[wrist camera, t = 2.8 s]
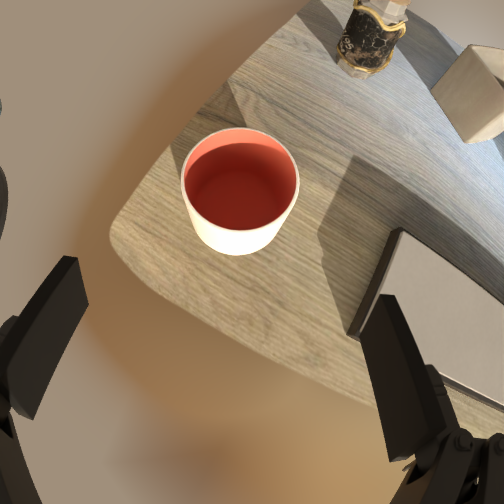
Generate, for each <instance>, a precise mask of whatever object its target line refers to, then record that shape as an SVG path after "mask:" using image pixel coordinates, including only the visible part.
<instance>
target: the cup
mask: <svg viewBox="0 0 504 504" xmlns="http://www.w3.org/2000/svg"><path fill="white" fill-rule="evenodd" d="M180 182H181V190H182V194H183V198H184V200H185V203H186V206H187V209H188V212H189V215H190V218H191V221H192V223H193V226H194V229H195V230H196V232H197V234H198V235H199V237H200V238H201V239H202V240H203V241H204V242H205V243H206V244H207V245H208V246H210V247H211V248H213V249H215V250H217V251H219V252H222V253H225V254H230V255H244V254H249V253H252V252H255V251H257V250H259V249H261V248H263V247H264V246H266V245H267V244H268V243H269V242H270V241H271V240H272V239H273V238H274V236H275V235H276V233H277V232H278V230H279V229H280V227H281V225H282V224H283V222H284V220H285V219H286V217H287V216H288V214H289V212H290V211H291V209H292V207H293V205H294V204H295V201H296V199H297V196H298V192H299V172H298V168H297V165H296V163H295V160H294V159H293V157H292V155H291V154H290V152H289V151H288V150H287V148H286V147H285V146H284V145H283V144H282V143H281V142H280V141H278V140H277V139H276V138H274V137H272V136H271V135H269V134H267V133H265V132H262V131H259V130H256V129H252V128H244V127H234V128H227V129H222V130H219V131H216V132H214V133H212V134H210V135H208V136H206V137H205V138H203V139H202V140H200V141H199V142H198V143H197V144H196V145H195V146H194V147H193V148H192V149H191V151H190V152H189V154H188V155H187V157H186V159H185V161H184V164H183V167H182V170H181V180H180Z"/></svg>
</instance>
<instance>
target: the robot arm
mask: <svg viewBox="0 0 504 504" xmlns="http://www.w3.org/2000/svg"><path fill="white" fill-rule="evenodd" d="M1 110H2V105H1V100H0V114H1ZM88 305H89V303H88V300H87V296H86V292H85V288H84V284H83V280H82V276H81V271H80V267H79V262H78V258H77V257H70V256H63V257H62V258H61V259H60V261H59V262H58V263H57V265H56V266H55V267H54V268H53V270H52V271H51V272H50V274H49V275H48V276H47V277H46V279H45V280H44V282H43V283H42V284H41V285H40V287H39V288H38V290H37V291H36V293H35V294H34V295H33V297H32V298H31V299H30V301H29V302H28V304H27V305H26V306H25V308H24V309H23V311H22V312H21V314H20V315H19V317H18V316H14V315H13V316H12V317H10V318H9V319H8V320H7V321H5V322H4V323H3V325H2V326H1V328H0V504H42V502H41V500H40V498H39V496H38V493H37V490H36V488H35V486H34V483H33V481H32V478H31V476H30V473H29V470H28V467H27V465H26V462H25V459H24V456H23V453H22V450H21V447H20V444H19V440H18V437H17V433H16V430H15V426H14V423H13V419H12V416H11V414H10V412H9V411H10V409H11V407H13V409H14V410H15V411H16V412H17V413H18V414H19V415H22V416H24V417H26V418H28V419H31V420H33V419H34V417H35V414H36V412H37V410H38V407H39V405H40V403H41V400H42V398H43V396H44V393H45V391H46V389H47V386H48V384H49V382H50V380H51V378H52V376H53V373H54V371H55V369H56V367H57V365H58V363H59V361H60V359H61V357H62V354H63V353H64V350H65V348H66V347H67V345H68V343H69V341H70V338H71V337H72V335H73V333H74V331H75V329H76V327H77V325H78V323H79V322H80V320H81V318H82V316H83V314H84V312H85V311H86V309H87V307H88ZM359 339H360V342H361V346H362V349H363V353H364V356H365V360H366V364H367V368H368V371H369V375H370V379H371V383H372V387H373V391H374V395H375V399H376V403H377V407H378V411H379V416H380V420H381V425H382V429H383V433H384V438H385V443H386V448H387V452H388V458H389V462H395V461H400V460H406V459H407V458H409V457H410V456H411V455H413V454H415V458H416V459H415V460H414V461H413V462H411V463H410V464H408V465H407V466H405V467H404V469H403V470H402V471H406V470H407V469H409V471H408V472H407V474H406V476H405V478H404V480H403V481H402V483H401V485H400V487H399V489H398V490H397V492H396V494H395V496H394V497H393V499H392V501H391V502H390V504H504V434H502V433H496V434H494V435H493V436H491V437H490V438H489V439H481V438H473V436H472V435H471V433H470V432H469V431H467V430H466V429H463V428H460V426H459V424H458V421H457V418H456V415H455V412H454V409H453V407H452V404H451V401H450V398H449V396H448V395H447V391H446V388H445V387H444V383H443V380H442V378H441V375H440V373H439V372H438V371H437V369H436V368H435V367H434V366H433V365H432V364H425V363H424V361H423V358H422V356H421V354H420V351H419V349H418V346H417V344H416V341H415V339H414V337H413V334H412V332H411V330H410V327H409V325H408V323H407V321H406V318H405V316H404V314H403V312H402V310H401V307H400V305H399V303H398V301H397V299H396V297H395V295H391V294H380V295H379V297H378V299H377V301H376V303H375V305H374V307H373V309H372V311H371V313H370V316H369V318H368V320H367V322H366V324H365V326H364V328H363V330H362V331H361V333H360V335H359ZM477 478H479V481H478V484H477Z"/></svg>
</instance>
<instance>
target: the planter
mask: <svg viewBox="0 0 504 504" xmlns="http://www.w3.org/2000/svg"><path fill="white" fill-rule="evenodd" d="M430 92H431V94H432V95H433V96H434V98H435V99H436V101H437V102H438V104H439V105H440V107H441V108H442V110H443V111H444V113H445V114H446V116H447V117H448V119H449V120H450V122H451V123H452V125H453V126H454V128H455V130H456V131H457V133H458V134H459V136H460V137H461V139H462V140H463V142H464V143H477V142H482V141H486V140H489V139H493V138H495V137H497V136H498V135H499V134H501V133H502V132H503V131H504V49H499V48H494V47H487V46H480V45H472V44H471V45H468V46H467V48H466V49H465V50H464V51H463V52H462V53H461V54H460V56H459V57H458V58H457V59H456V60H455V62H454V63H453V64H452V65H451V66H450V68H449V69H448V70H447V71H446V72H445V74H444V75H443V76H442V77H441V78H440V80H439V81H438V82H437V83H436V84H435V85H434V87H433V88H432V89H431V90H430Z"/></svg>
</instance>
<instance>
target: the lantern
mask: <svg viewBox="0 0 504 504" xmlns="http://www.w3.org/2000/svg"><path fill="white" fill-rule="evenodd" d="M358 1H359V0H354V4H353V6H354V9H353V12H352V14H351V16H350V18H349V20H348V22H347V25H346V27H345V29H344V31H343V33H342V35H341V38H340V40H339V43H338V45H337V51H338V54H337V56H336V58H337V65H338V66H339V67H341V68H342V69H343V70H344V71H345V72H346V73H348V74H349V75H350V76H351V77H355V78H359V79H363V80H365V79H367V78H368V77H370V76H372V75H374V74H375V73H377V72H379V71H381V70H383V69H384V68H385V67H386V66H387V65H388V64H389V62H390V60H391V58H392V55H393V50H394V46H395V44H396V42H397V40H398V39H399V38H400V37H402V36H403V35H404V34H405V32H406V26H405V23H404V22H405V21H408V17H407V15H406V13H405V10H406V7H407V5H409V4H410V3H411V2H410V0H360V1H359V2H358Z"/></svg>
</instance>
